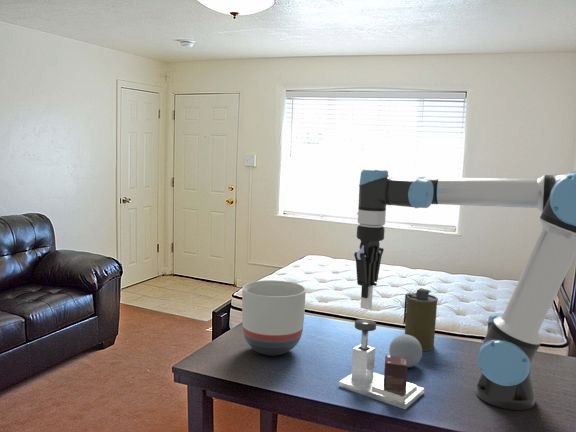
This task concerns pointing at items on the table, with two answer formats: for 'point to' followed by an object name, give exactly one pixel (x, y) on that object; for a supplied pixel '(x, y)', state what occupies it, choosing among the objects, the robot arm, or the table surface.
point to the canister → (421, 317)
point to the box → (395, 373)
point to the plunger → (365, 330)
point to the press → (376, 381)
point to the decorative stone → (406, 349)
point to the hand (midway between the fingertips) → (365, 308)
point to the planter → (273, 315)
